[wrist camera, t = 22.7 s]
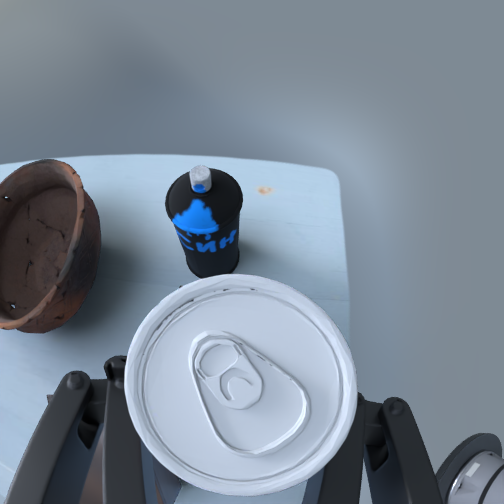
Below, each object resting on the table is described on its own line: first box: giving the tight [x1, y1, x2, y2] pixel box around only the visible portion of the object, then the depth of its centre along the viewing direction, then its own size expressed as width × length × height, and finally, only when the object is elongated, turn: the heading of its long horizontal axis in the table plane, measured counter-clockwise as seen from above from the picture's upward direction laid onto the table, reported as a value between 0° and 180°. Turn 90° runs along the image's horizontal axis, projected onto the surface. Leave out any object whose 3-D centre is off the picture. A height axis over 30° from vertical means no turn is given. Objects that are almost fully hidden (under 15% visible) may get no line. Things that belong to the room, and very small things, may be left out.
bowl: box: [0, 159, 101, 333], centre depth 34 cm, size 25×25×15 cm
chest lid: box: [47, 395, 166, 504], centre depth 23 cm, size 16×13×1 cm
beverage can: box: [124, 274, 358, 496], centre depth 12 cm, size 6×6×15 cm
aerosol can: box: [165, 166, 243, 279], centre depth 34 cm, size 8×8×20 cm
